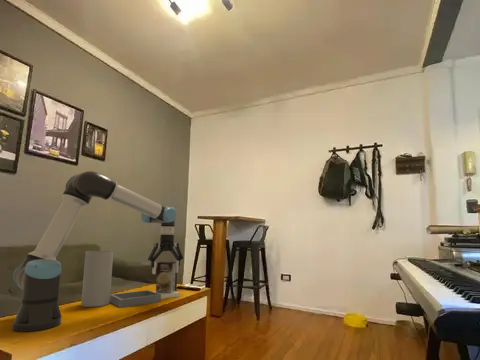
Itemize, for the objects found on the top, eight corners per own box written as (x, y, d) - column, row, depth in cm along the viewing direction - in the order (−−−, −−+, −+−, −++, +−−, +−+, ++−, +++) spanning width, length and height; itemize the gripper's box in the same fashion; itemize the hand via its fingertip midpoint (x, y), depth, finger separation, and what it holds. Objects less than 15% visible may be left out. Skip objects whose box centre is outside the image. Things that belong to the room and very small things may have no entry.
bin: (120, 307, 141) (120, 299, 141) (109, 301, 153) (109, 294, 153) (160, 301, 153) (160, 294, 154) (147, 296, 165) (148, 289, 166)
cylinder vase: (111, 301, 154) (114, 250, 159) (107, 306, 143) (111, 251, 147) (84, 302, 151) (88, 250, 156) (78, 308, 139) (83, 252, 144)
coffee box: (154, 293, 165) (156, 262, 168) (159, 290, 171) (160, 261, 174) (171, 293, 164) (172, 262, 167) (175, 291, 170) (176, 261, 173)
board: (159, 299, 159) (159, 295, 159) (149, 295, 168) (150, 291, 168) (179, 296, 166) (180, 292, 167) (169, 293, 175) (169, 289, 176)
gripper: (148, 234, 162) (146, 275, 158) (189, 234, 178) (188, 272, 174) (143, 234, 168) (140, 274, 164) (183, 234, 184) (182, 271, 180)
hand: (165, 273), depth 169 cm, fingers open, 13 cm apart
